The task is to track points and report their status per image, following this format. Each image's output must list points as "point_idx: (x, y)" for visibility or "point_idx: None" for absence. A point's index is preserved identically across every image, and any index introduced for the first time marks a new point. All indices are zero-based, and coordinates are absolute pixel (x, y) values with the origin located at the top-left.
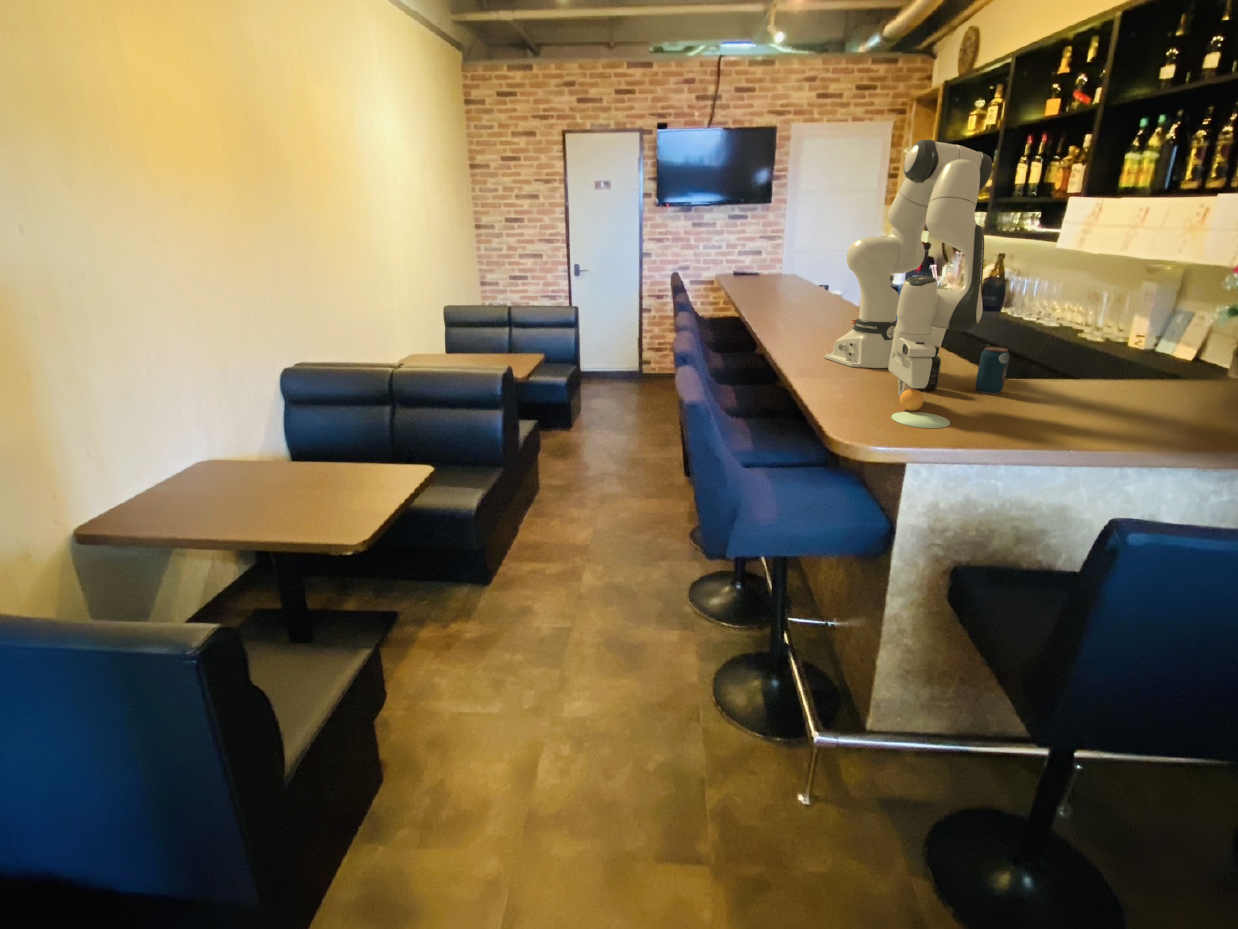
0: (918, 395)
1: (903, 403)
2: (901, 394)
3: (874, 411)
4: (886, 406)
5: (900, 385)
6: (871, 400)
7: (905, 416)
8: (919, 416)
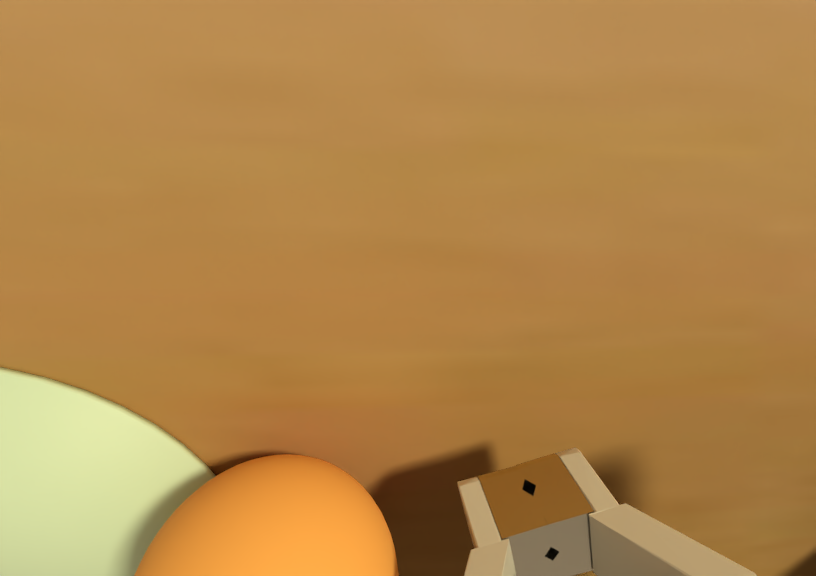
0: None
1: (172, 514)
2: (261, 564)
3: (62, 175)
4: (367, 306)
5: (645, 559)
6: (582, 150)
7: (4, 476)
8: (93, 561)
